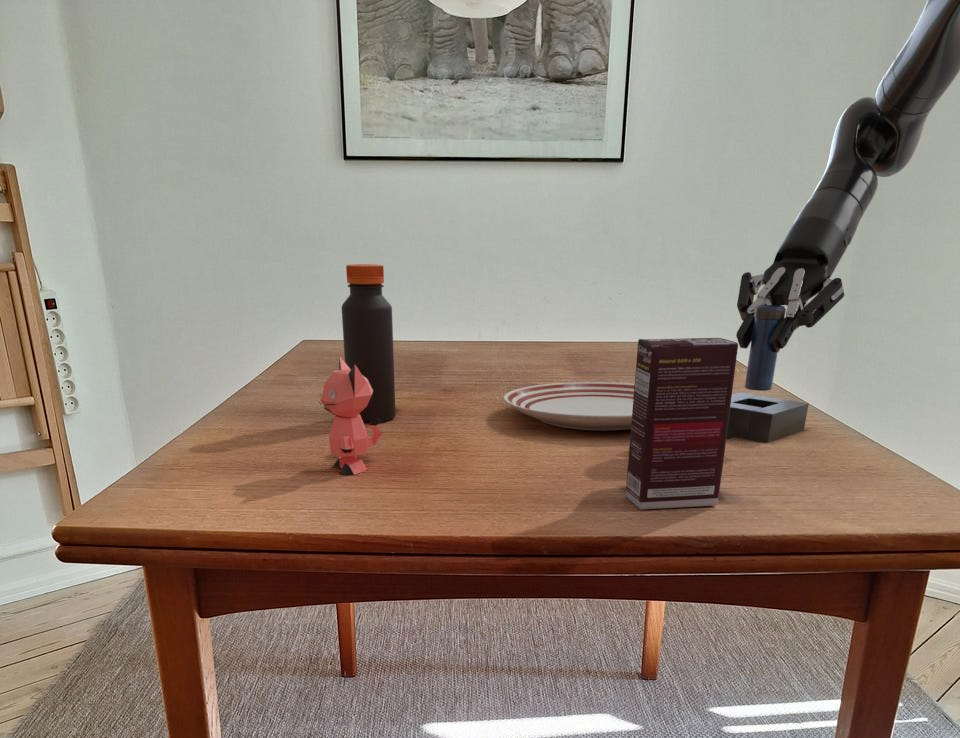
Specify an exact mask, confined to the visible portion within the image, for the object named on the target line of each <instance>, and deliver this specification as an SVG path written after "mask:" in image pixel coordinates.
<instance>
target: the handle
mask: <svg viewBox="0 0 960 738" xmlns="http://www.w3.org/2000/svg"><path fill="white" fill-rule="evenodd" d="M786 311H787V308H786V306H785V305H782V306H778V305H758V306H757V307H755V311H754V318H755V320H754V327H753V333H752V340H751V342H750V348H749V355H748V361H747V368H746V373H745V382H744V388H745V389H746V390H749V391H759V392H760V391H761V392H763V391H764V392H765V391H771V390H772V389H773V382H774V377H775V371H776V364H777V357H778V353H779V352H772V351H771V349H770V346H769V340H770V338H771V336H772V334H773V332H774V331H775V329H776V327H777V325H778V324H779V322H780V320H781V318H785V317H786Z"/></svg>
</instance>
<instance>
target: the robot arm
mask: <svg viewBox="0 0 960 738" xmlns="http://www.w3.org/2000/svg"><path fill="white" fill-rule="evenodd" d="M959 73H960V0H926V3H925V5H924V8H923V10H922V12H921V14H920V16H919V18H918V20H917V22H916V24H915V26H914V28H913V30H912V31H911V33H910V35H909V37H908V38H907V40H906V42H905V43H904V44H903V47H902V48H901V49H900V51H899V52H898V54H897V55H896V57H895V58H894V60H893V61H892V63H891V65H890V66H889V68H888V69H887V71H886V72H885V74H884V75H883V77H882V79H881V80H880V82H879V84H878V86H877V88H876V92H875V96H874V97H875V98H874V97H871V96H866V97H861V98H859V99H857V100H854V101H853V102H852V103H851V104H849V105H848V106H847V108H846V109H845V110H844V111H843V113H842V114H841V116H840V118H839V120H838V122H837V124H836V127H835V130H834V133H833V137H832V141H831V146H830V151H829V157H828V160H827V164H826V168H825V170H824V172H823V174H822V176H821V178H820V179H819V182H818V184H817V186H816V187H815V189H814V191H813V192H812V194H811V195H810V198H809V199H808V200H807V201H806V203H805V204H804V205H803V207H802V208H801V210H800V211H799V213H798V215H797V216H796V218H795V220H794V221H793V223H792V225H791V226H790V228H789V230H788V232H787V233H786V235H785V237H784V239H783V241H782V243H781V244H780V245H779V248H778V249H777V252H776V253H775V257H774V259H773V262H772V263H771V265H770V266H769V267H767V268H766V269H765V270H764V271H763V273H761V274H757V275H753V276H752V273H751V272H749V271H747V272H744V273H742V275H741V279H740V285H739V291H738V296H737V302H736V307H737V309H738V310H737V311H738V313H739V316H740V319H741V321H742V323H741V325H740V326H739V328H738V330H737V331H736V339H737V343H738V346H739V348H740V349H748V348H749V346H750V345H751V340H752V333H753V327H754V320H755V318H754V311H755V307H757V306H758V305H778V306H787V307H786V311H785V317H784V318H781V320H780V322H779V324H778V325H777V327H776V329H775V331H774V332H773V334H772V336H771V338H770V340H769V346H770V349H771V351H772V352H778V353H779V352H780V351H781V349H784V348H785V347H786V346H787V345H788V343H789V341H790V339H791V337H792V336H793V334H794V332H795V331H796V330H798V329H799V328H800V327H803V326H805V328H808V329H809V328H810V329H811V328H813V327H814V326H815V325H816V324H818V322H819V321H820V320H821V319H822V318H824V316H826V315H827V314H828V313H829V312H830V311H831V310H832V309H833V308H834V307H835V306H836V305H837V304H838V303H840V301H841V300H842V299H843V298H844V297H845V291H844V290H845V289H844V285H843V282H842V279H841V277H835V278H833V279H831V277H832V275H833V274H834V272H835V270H836V268H837V266H838V265H839V263H840V261H841V259H842V258H843V256H844V254H845V252H846V251H847V249H848V247H849V246H850V244H851V243H852V240H853V238H854V236H855V234H856V232H857V229H858V226H859V224H860V222H861V219H862V218H863V216H864V214H865V212H866V211H867V209H868V207H869V205H870V204H871V202H872V201H873V200H874V199H873V198H874V196H875V195H876V193H877V191H878V185H879V180H878V179H879V178H878V177H880V178H888V177H893V176H894V175H897V174H898V173H900V172H901V171H903V169H905V167H906V166H907V165H908V164H909V163H910V161H911V159H912V157H913V156H914V154H915V152H916V150H917V148H918V145H919V142H920V139H921V136H922V133H923V129H924V127H925V123H926V121H927V120H928V119H927V118H928V117H929V115H930V113H931V111H932V110H933V108H934V107H935V106H936V104H937V103H938V102H939V100H940V99H941V98H942V96H943V95H944V94H945V93H946V91H947V90H948V88H949V87H950V86H951V84H953V81H954V80H955V79H956V78H957V76H958V74H959ZM763 285H764V286H763ZM762 286H763V287H762ZM761 287H762V288H761ZM760 288H761V289H760ZM755 296H756V299H755ZM809 300H810V301H809ZM808 301H809V302H808Z"/></svg>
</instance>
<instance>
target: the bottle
mask: <svg viewBox="0 0 960 738" xmlns="http://www.w3.org/2000/svg"><path fill="white" fill-rule="evenodd" d="M345 270H346V272H345V273H346V283H347V288H349V295H348V297H346V299H345V300H344V301H343V303H342V304H341V320H342V336H343V337H342V338H343V354H344V362H345V363H346V364H347V366H348V367H349V368H350V369H352V368H353V366H354V365H356V366H357V368H358V369H359V371H360V372H361V374H362V375H363V376H364V377H365V378H367V379H368V381H369V383H370V385H371V387H372V389H373V393H372V396H371V398H370V400H369V403H368V405H367V407H366V408H365V409H363V410H362V411H361V412H360V413H359V414H360V416H361V418H362V421H363V423H369V424H370V423H371V422H372V421H373V420H374V419H378V420H380V421H381V422H380V423H383V422H384V423H385V422H390V421H392V420H394V419H395V417H396V391H395V390H396V388H395V386H396V385H395V383H396V382H395V361H394V360H395V359H394V358H395V357H394V330H393V328H394V327H393V307H392V305H391V303H390V302H389V301H388V300H387V299H386V298H385V296H384V295H383V288H384V284H385V275H384V273H385V271H384V270H385V269H384V265H383V264H374V263H373V264H371V263H369V264H368V263H355V264H353V263H352V264H347V265H346V266H345Z"/></svg>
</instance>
